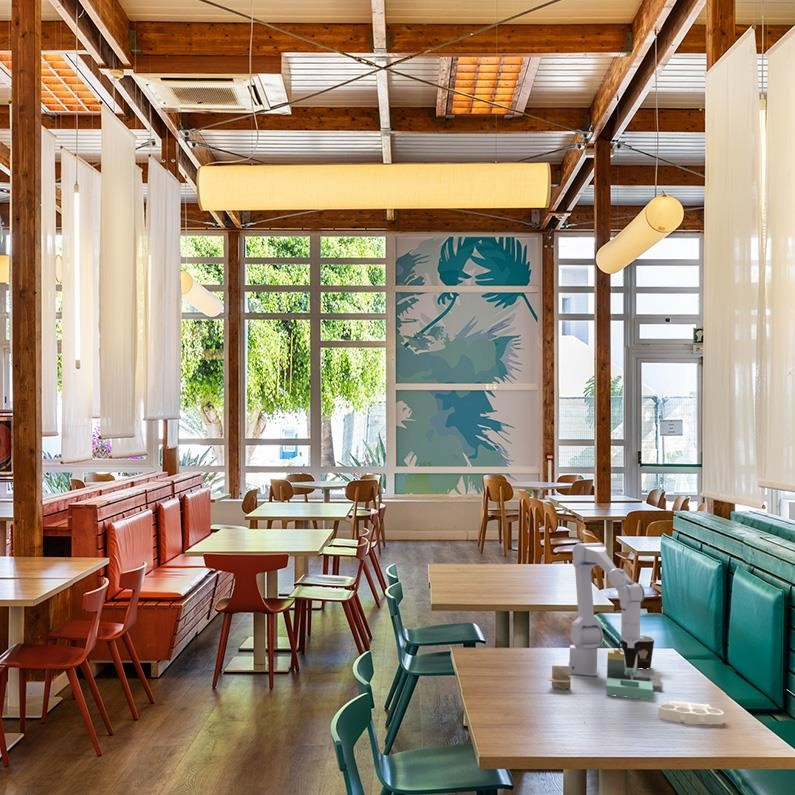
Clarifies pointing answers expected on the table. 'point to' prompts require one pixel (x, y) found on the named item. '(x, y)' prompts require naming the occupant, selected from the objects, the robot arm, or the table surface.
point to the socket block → (617, 671)
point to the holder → (630, 688)
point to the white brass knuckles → (691, 713)
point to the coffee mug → (644, 652)
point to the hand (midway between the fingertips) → (629, 665)
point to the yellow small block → (616, 654)
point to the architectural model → (560, 677)
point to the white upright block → (630, 670)
